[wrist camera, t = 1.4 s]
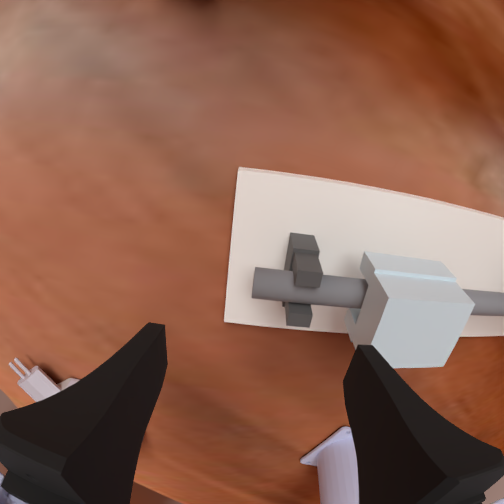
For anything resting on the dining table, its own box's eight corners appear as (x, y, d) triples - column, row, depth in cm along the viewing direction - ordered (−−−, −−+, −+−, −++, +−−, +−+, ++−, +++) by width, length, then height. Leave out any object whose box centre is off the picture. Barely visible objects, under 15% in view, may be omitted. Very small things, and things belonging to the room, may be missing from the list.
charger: (41, 331, 25) (146, 428, 30) (10, 357, 27) (100, 439, 32) (16, 363, 20) (135, 463, 25) (-11, 384, 23) (89, 468, 28)
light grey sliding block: (440, 261, 16) (476, 300, 12) (416, 324, 18) (441, 369, 14) (364, 251, 16) (390, 293, 12) (344, 319, 18) (359, 370, 14)
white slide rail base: (563, 236, 18) (601, 263, 13) (524, 328, 22) (551, 363, 17) (239, 167, 18) (228, 190, 13) (225, 313, 22) (215, 370, 17)
